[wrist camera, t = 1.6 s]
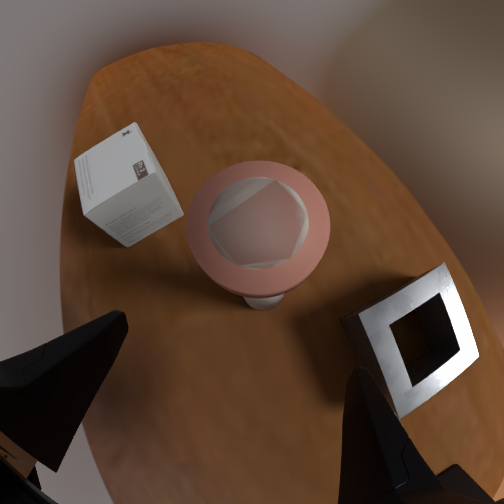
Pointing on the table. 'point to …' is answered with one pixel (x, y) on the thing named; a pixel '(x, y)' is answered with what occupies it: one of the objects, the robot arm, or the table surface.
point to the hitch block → (435, 330)
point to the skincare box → (125, 187)
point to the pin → (258, 230)
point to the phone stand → (463, 484)
